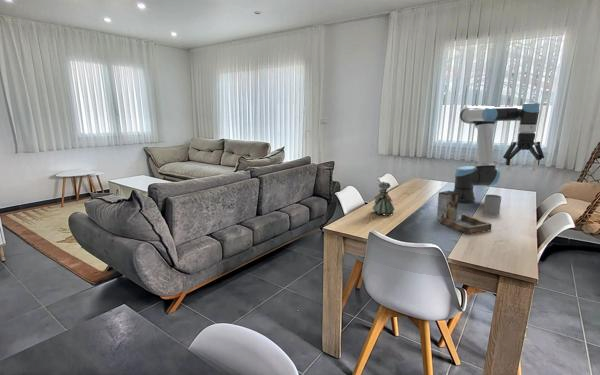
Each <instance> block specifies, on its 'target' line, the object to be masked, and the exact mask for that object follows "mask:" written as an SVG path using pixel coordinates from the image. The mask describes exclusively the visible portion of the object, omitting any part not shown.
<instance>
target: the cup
mask: <svg viewBox="0 0 600 375" xmlns="http://www.w3.org/2000/svg"><path fill="white" fill-rule="evenodd" d="M501 201H502V196H501V195H498V194H485V195H484V204H483V213H485V212H486V213H485V214H489V215H499V214H500V210H501V203H502V202H501Z"/></svg>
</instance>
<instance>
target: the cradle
mask: <svg viewBox="0 0 600 375" xmlns="http://www.w3.org/2000/svg"><path fill="white" fill-rule="evenodd" d="M439 221H440V220H439ZM439 224H441V225H442V226H443V225H444V226H445V227H448V228H451V229H453V230H455V231H457V232H460V233H461V234H464V235H467V234H468V235H472V234H471V233H473V234H478V233H477V232H479V233H483V231H485V232H489V231H488V230H491V231H492V223H490V222H487V221H484V220H481V219H478V218H477V217H476V218H475V217H473V216H470V215H467V214H464V213H461V217H460V218H459V219H456V220H449V219H447V218H444V217H441V221H440V223H439Z"/></svg>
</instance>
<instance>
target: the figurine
mask: <svg viewBox="0 0 600 375" xmlns="http://www.w3.org/2000/svg"><path fill="white" fill-rule="evenodd" d="M378 188H379V193H378V194H377V195H375V196H374V205H373V206H372V209H373V211H374V212H375V213H376V212H377V213H376V214H377V215H379V214H385V215H391V214H393V215H394V211H395V207H394V205H393V203H392V201H393V199H392V198H391V197H390V195H389V191H388V189H390V188H391V184H390V183H389V182H385V181H381V182H379V184H378Z"/></svg>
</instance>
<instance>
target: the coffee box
mask: <svg viewBox="0 0 600 375" xmlns="http://www.w3.org/2000/svg"><path fill="white" fill-rule="evenodd" d="M458 196H459V193H458V192H453V190H445V191H440V192H438V196H437V198H438V199H437V209H436V210H437V211H436V220H438V221H441V217H444V218H447V219H449V220H457V217H458V206H459V202H458Z"/></svg>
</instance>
